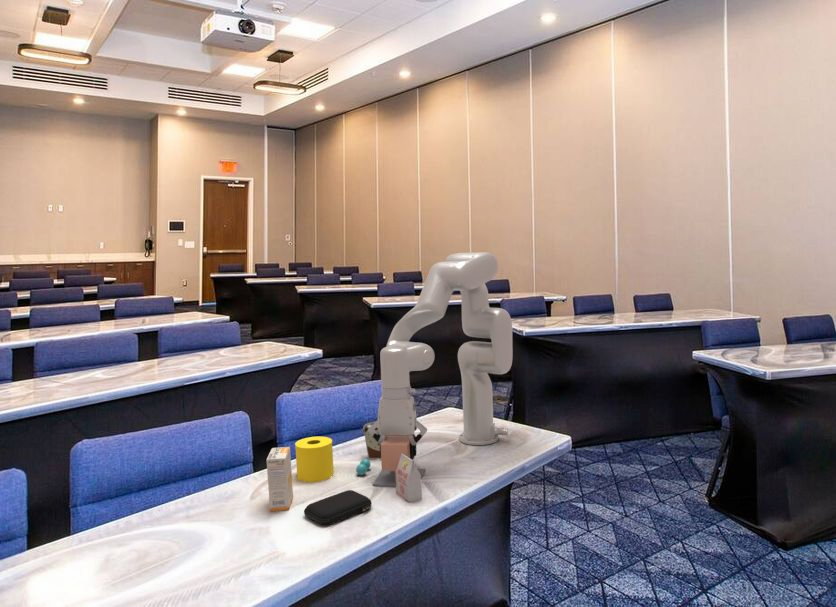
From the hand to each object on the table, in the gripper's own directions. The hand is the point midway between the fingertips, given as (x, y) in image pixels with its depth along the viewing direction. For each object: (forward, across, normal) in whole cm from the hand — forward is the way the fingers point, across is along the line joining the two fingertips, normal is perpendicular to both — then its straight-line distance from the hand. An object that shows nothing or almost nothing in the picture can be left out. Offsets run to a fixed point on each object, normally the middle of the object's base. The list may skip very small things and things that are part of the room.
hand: (398, 457), depth 158 cm
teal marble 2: (+6, +11, -2) cm, 12 cm away
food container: (+6, +8, -18) cm, 20 cm away
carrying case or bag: (+7, +10, +22) cm, 25 cm away
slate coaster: (+6, 0, 0) cm, 6 cm away
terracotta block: (+2, 0, 0) cm, 2 cm away
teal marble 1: (+6, +11, -6) cm, 14 cm away
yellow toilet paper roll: (+6, +24, -1) cm, 25 cm away
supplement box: (+6, +26, +18) cm, 32 cm away
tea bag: (+6, -5, +11) cm, 14 cm away
